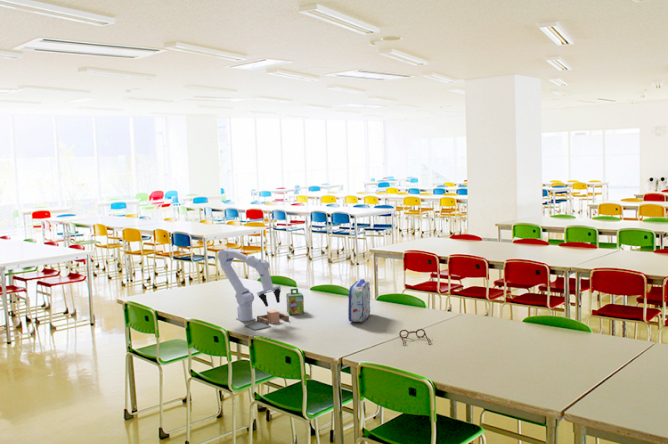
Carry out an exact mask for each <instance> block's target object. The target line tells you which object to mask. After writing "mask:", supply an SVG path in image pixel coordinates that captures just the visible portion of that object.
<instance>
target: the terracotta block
mask: <svg viewBox="0 0 668 444" xmlns="http://www.w3.org/2000/svg"><path fill="white" fill-rule="evenodd" d="M279 312H280V311H279V310H275V309H271V310H267V311H266V315H267V320H269V324H274V323H275V324H276V323H279V322H280V318H279Z"/></svg>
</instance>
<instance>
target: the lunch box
mask: <svg viewBox="0 0 668 444" xmlns="http://www.w3.org/2000/svg"><path fill="white" fill-rule="evenodd" d="M370 285H371V284H370V282H369V281H365V279H359V280H356V281H355V282H354V283H353V284H351V286H350V287H349V290H348V294H347V295H348V296H347V297H348V305H347V307H348V308H347V309H348V310H347V313H348V315H347V319H348V321H349V322H352V323H364V321H366V320H367V319H368V318H369V316H370V314H371V288H370V287H371V286H370Z"/></svg>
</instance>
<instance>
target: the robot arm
mask: <svg viewBox="0 0 668 444" xmlns="http://www.w3.org/2000/svg"><path fill="white" fill-rule="evenodd" d="M234 259H237V260H240V261H243V262H244V263H245V264H246V265H247V266H249V267H251V268H253V269H255V270H256V272H257V273H258V275H259V277H260V281H261V285H262V288H263V290H261V291H258V292H256V295H257V297H258V298H259V299H260V300H261V301H262V302H263V304H264V306H265V307H267V308H268V307H269V303H268V300H267V294H268V293H272V292H273V294H274V297H275V300H276V303H277V304H278V303H280V301H281V299H280V296H281V291H282V290H281V289H282V288H281V287H282V286H281V285H276V286H273V285H274V284H273V281H272V278H271V274H270V263H269V262H268V261H267V260H266V259H264V260H263V259H261V258H258V257H255V255H249V256H248V255H246V254H244V253H242V252H240V251H239V250H237V249H236V248H233V247H229V248H225V249H220V250H219V251H218V253H217V260H218V261H219V264H220V268H221V269H222V271H223V273H224V275H225V276H226V278H227V280H228V282H230V284H231V286H232V287H233V290H234V291H235V295H234V296H235V299H236V303H237V304H238V306H237V307H236V308H237V317H236V320H238V321H240V322H249V321H255V320H256V318H254V317H253V302H254V301H255V296H254V293H253V292H251V291H250V290H249V289H248V288H246V287H245V286H244V284H243V282H242V281H241V279H240V278H239V276H238V274H237V273H236V271H235V270H234V268H233V267H232V263H233V261H234Z"/></svg>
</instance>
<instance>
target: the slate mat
mask: <svg viewBox="0 0 668 444" xmlns="http://www.w3.org/2000/svg"><path fill="white" fill-rule="evenodd" d="M244 327H246V328H248V329H250V330H253V331H259V330H264V329H268V328H271V327H272V325H270V324H269V325H266V324H264V323H262V322H257V321H256V322H253V323H249V324H245V325H244Z"/></svg>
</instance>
